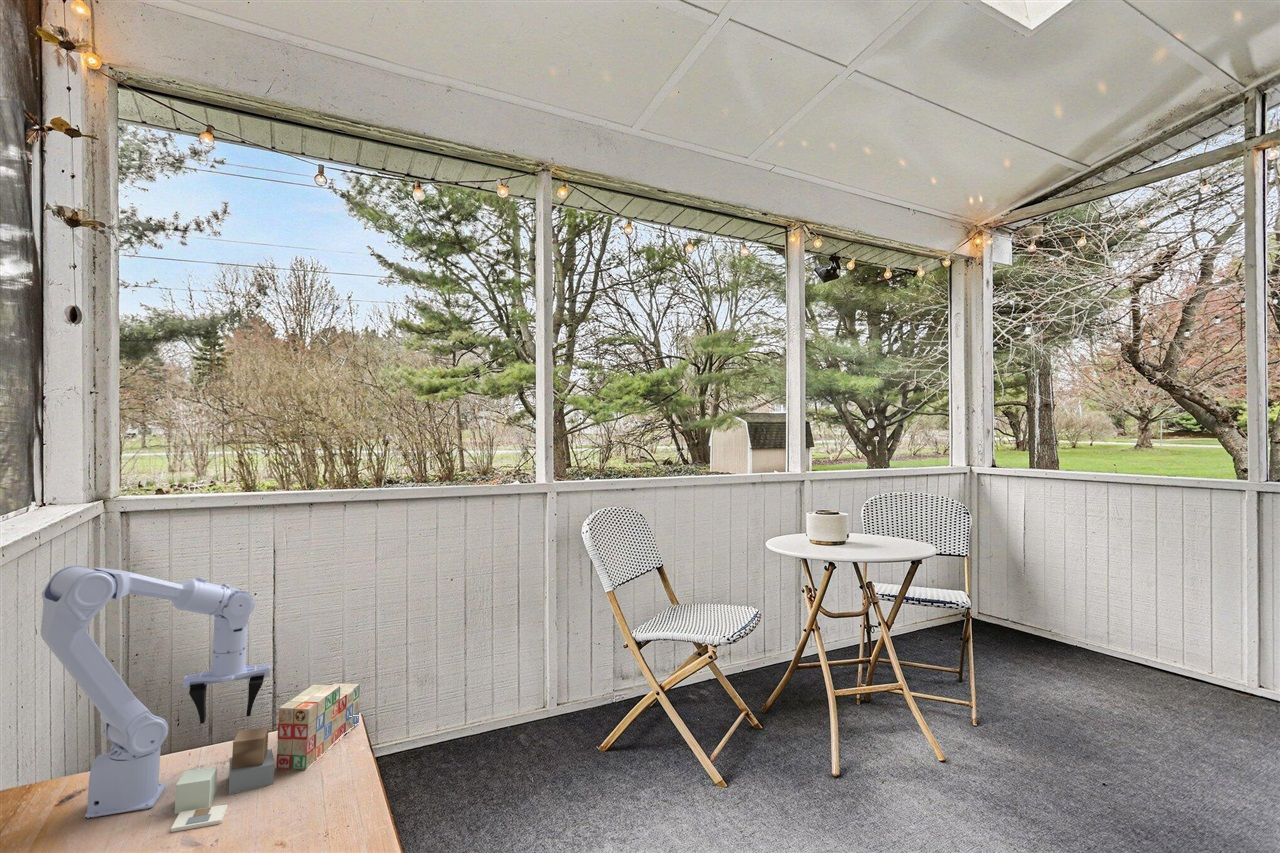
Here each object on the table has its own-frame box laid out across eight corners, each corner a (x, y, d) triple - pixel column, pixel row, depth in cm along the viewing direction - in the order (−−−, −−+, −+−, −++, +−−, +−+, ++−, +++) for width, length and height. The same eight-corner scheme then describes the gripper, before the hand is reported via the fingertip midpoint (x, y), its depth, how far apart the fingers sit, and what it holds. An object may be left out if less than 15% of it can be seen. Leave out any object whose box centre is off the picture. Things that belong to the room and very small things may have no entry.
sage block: (174, 814, 108) (176, 784, 108) (183, 799, 112) (184, 771, 112) (208, 808, 109) (210, 779, 110) (215, 794, 114) (217, 766, 114)
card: (170, 832, 102) (170, 827, 102) (179, 815, 107) (180, 811, 107) (220, 823, 105) (220, 819, 105) (227, 807, 110) (227, 803, 110)
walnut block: (231, 769, 116) (233, 742, 116) (237, 757, 120) (238, 730, 120) (262, 765, 117) (263, 738, 118) (267, 753, 122) (268, 727, 122)
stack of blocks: (333, 723, 144) (335, 669, 145) (359, 724, 144) (361, 670, 145) (275, 769, 123) (278, 706, 124) (306, 771, 123) (309, 708, 123)
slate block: (229, 796, 114) (230, 773, 114) (228, 778, 120) (229, 757, 120) (273, 785, 118) (274, 764, 118) (270, 769, 124) (271, 748, 124)
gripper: (182, 660, 118) (178, 733, 117) (270, 650, 125) (267, 718, 124) (187, 649, 124) (183, 718, 123) (271, 640, 131) (268, 705, 130)
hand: (226, 718), depth 124 cm, fingers open, 7 cm apart
